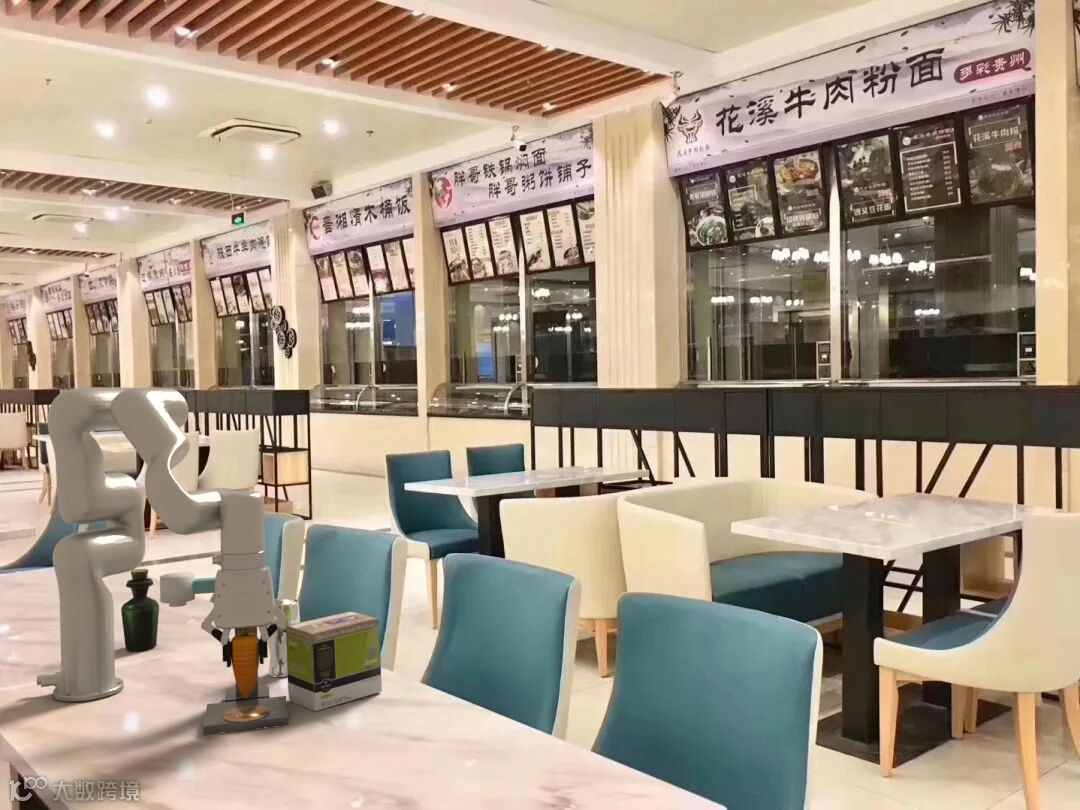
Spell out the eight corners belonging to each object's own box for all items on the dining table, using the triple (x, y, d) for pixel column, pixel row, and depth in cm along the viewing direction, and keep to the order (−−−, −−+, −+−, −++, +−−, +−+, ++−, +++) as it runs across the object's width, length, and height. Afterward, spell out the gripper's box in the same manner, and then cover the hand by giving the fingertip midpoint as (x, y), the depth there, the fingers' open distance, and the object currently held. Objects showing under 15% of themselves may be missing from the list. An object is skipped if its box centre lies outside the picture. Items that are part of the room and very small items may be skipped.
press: (203, 735, 159) (201, 618, 159) (209, 700, 177) (207, 595, 177) (288, 725, 163) (286, 611, 163) (285, 692, 182) (283, 589, 181)
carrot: (235, 694, 167) (233, 611, 167) (263, 693, 168) (261, 610, 168) (228, 703, 162) (226, 618, 162) (257, 702, 163) (255, 617, 163)
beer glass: (291, 679, 190) (290, 606, 190) (259, 677, 191) (258, 604, 191) (306, 669, 197) (305, 598, 196) (276, 667, 198) (274, 597, 198)
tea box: (353, 682, 187) (352, 609, 187) (382, 693, 180) (381, 617, 180) (286, 700, 177) (284, 623, 177) (314, 713, 170) (312, 632, 169)
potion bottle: (128, 655, 209) (126, 575, 209) (116, 648, 215) (115, 570, 215) (165, 648, 214) (163, 570, 214) (153, 641, 220) (151, 565, 220)
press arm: (259, 595, 180) (258, 558, 180) (259, 602, 174) (258, 563, 174) (162, 602, 175) (161, 564, 175) (158, 609, 169) (158, 570, 169)
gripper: (190, 568, 159) (192, 674, 159) (293, 561, 164) (295, 664, 164) (193, 560, 166) (195, 662, 166) (292, 554, 171) (294, 653, 171)
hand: (245, 662), depth 165 cm, fingers closed on carrot, 4 cm apart
